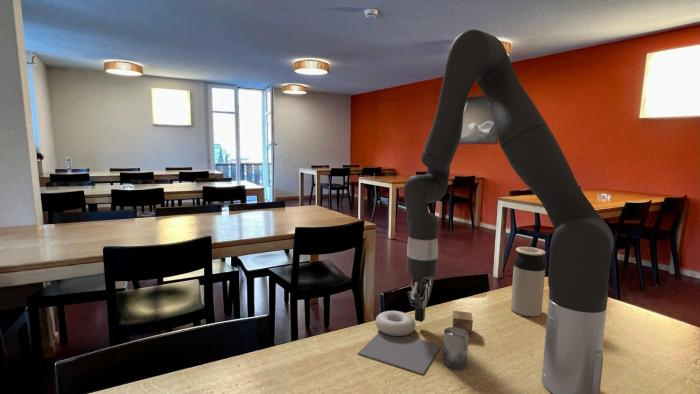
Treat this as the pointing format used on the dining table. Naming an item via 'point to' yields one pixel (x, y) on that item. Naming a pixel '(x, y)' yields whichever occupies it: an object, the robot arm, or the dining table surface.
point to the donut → (395, 323)
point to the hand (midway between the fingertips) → (419, 320)
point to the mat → (401, 351)
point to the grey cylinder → (455, 348)
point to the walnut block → (463, 321)
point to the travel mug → (528, 281)
